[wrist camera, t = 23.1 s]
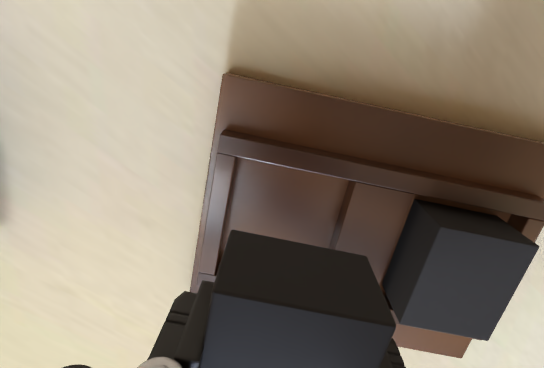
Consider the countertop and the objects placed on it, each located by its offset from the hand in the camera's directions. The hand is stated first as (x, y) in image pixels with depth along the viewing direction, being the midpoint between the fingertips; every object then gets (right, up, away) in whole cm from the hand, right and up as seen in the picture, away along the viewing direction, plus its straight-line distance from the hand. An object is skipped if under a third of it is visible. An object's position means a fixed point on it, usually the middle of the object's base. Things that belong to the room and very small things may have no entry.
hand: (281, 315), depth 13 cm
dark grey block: (+10, +1, +8) cm, 12 cm away
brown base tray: (+5, +2, +9) cm, 10 cm away
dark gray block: (0, 0, 0) cm, 0 cm away
